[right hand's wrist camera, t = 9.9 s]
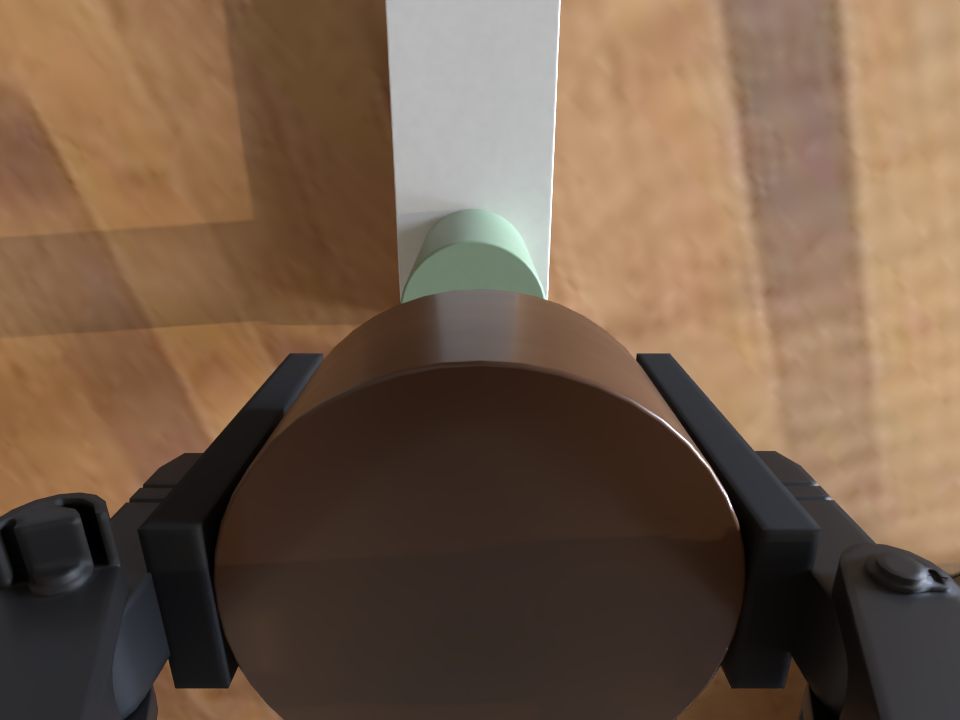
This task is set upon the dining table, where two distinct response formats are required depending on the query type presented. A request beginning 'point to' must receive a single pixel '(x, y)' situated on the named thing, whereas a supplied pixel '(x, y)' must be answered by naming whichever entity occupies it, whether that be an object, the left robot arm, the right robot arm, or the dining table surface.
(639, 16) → the dining table surface
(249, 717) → the dining table surface
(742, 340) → the dining table surface
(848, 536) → the right robot arm
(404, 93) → the jar stand
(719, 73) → the dining table surface
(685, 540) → the brown cylinder
